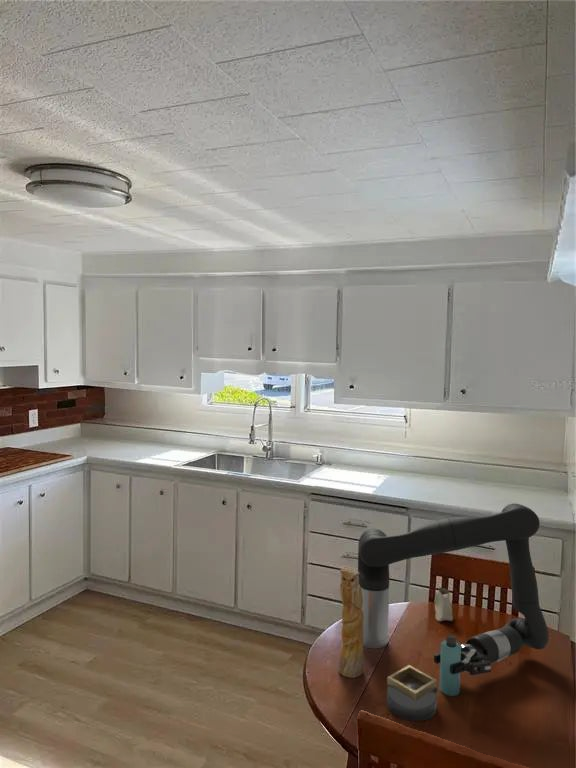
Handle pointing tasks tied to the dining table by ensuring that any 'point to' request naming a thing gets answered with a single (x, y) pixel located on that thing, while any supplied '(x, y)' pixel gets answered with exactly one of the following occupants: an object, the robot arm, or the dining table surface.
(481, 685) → the dining table surface
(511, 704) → the dining table surface
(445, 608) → the grey sack
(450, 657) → the bottle
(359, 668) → the sculpture
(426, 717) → the disc with square collar
